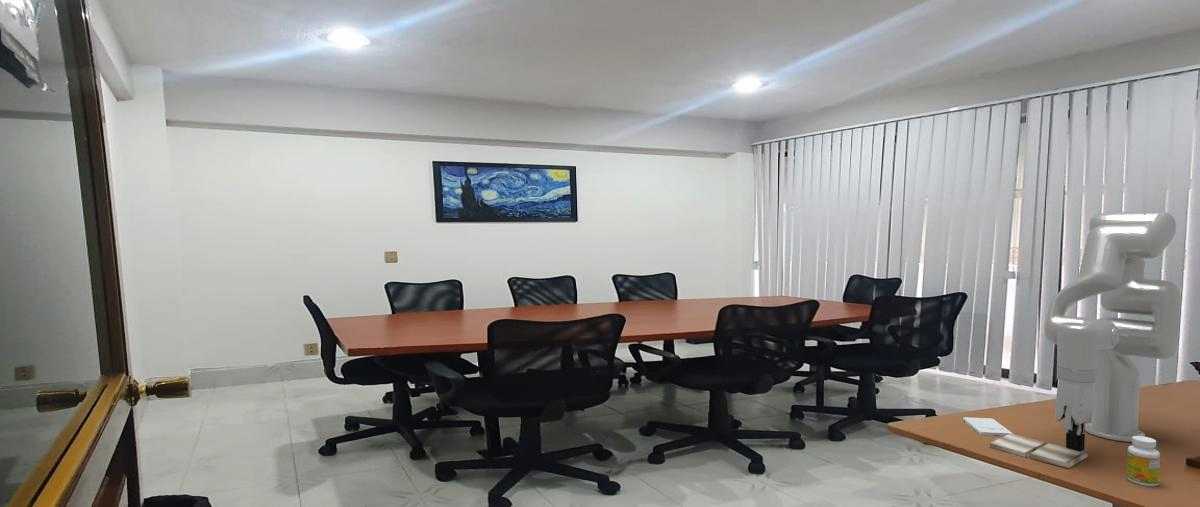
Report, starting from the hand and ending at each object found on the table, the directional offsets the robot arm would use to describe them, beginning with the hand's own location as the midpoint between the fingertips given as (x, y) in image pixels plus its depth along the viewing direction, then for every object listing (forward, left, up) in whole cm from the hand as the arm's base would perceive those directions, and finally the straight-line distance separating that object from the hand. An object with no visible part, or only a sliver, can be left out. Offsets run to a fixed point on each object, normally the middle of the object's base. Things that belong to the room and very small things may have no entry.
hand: (1075, 449), depth 147 cm
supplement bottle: (+2, +13, -3) cm, 14 cm away
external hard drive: (-8, -23, -4) cm, 25 cm away
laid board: (+1, -12, -3) cm, 12 cm away
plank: (+1, -3, -3) cm, 4 cm away
